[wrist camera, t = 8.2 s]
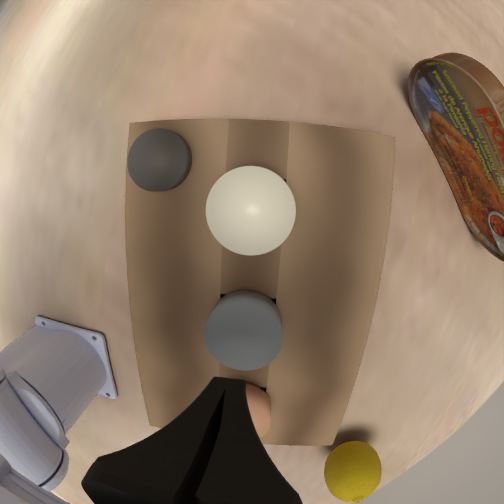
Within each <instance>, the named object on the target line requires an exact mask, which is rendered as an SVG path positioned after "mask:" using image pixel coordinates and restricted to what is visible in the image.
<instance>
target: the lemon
mask: <svg viewBox="0 0 504 504" xmlns="http://www.w3.org/2000/svg"><path fill="white" fill-rule="evenodd" d="M324 476H325V481H326V484H327V486H328V488H329V490H330V492H331V493H332V495H334V496H335V497H336V498H338V499H340V500H342V501H347V502H355V503H358V502H361V501H362V500H363V499H364V498H366V497H368V496H369V495H371V494H372V493H373V492H374V491H375V489H376V488H377V486H378V485H379V483H380V479H381V462H380V459H379V457H378V454H377V452H376V451H375V450H374V449H373V448H372V447H371V446H370V445H369V444H367V443H364V442H361V441H347V442H345V443H343V444H341V445H339V446H337V447H336V448H335V449H334V450H333V451H332V452H331V453H330V454H329V456H328V458H327V460H326V463H325V469H324Z"/></svg>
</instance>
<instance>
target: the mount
mask: <svg viewBox="0 0 504 504" xmlns="http://www.w3.org/2000/svg"><path fill="white" fill-rule="evenodd" d="M394 160H395V137H392V136H387V135H382V134H377V133H372V132H366V131H360V130H354V129H347V128H340V127H333V126H325V125H316V124H307V123H296V122H284V121H269V120H249V119H182V120H162V121H148V122H136V123H130V126H129V137H128V151H127V168H126V202H125V223H126V257H127V275H128V289H129V300H130V310H131V320H132V328H133V336H134V343H135V350H136V357H137V363H138V369H139V375H140V380H141V386H142V391H143V396H144V401H145V406H146V410H147V415H148V419H149V423H150V425H151V426H155V427H159V428H163V427H164V426H166V425H167V424H169V423H170V422H171V421H172V420H174V419H175V418H176V417H177V416H178V415H179V414H181V413H182V412H183V411H184V410H185V409H186V408H187V407H188V406H189V405H190V404H191V403H192V402H193V401H194V400H195V399H196V398H197V397H198V396H199V395H200V393H201V392H202V391H203V390H204V389H205V387H206V386H207V385H208V383H209V382H210V381H211V379H212V378H213V377H215V376H216V377H224V378H232V379H241V380H245V381H246V383H247V384H251V385H254V386H256V387H263V388H265V393H266V394H267V395H268V396H269V398H270V400H271V422H270V429H269V431H268V432H267V433H266V434H265V435H264V436H263V437H261V438H260V440H261V442H262V444H275V445H304V446H320V445H333V442H334V440H335V437H336V435H337V432H338V429H339V427H340V424H341V421H342V419H343V416H344V413H345V410H346V408H347V405H348V402H349V399H350V396H351V393H352V390H353V387H354V383H355V380H356V377H357V374H358V370H359V367H360V363H361V360H362V356H363V353H364V349H365V345H366V342H367V338H368V334H369V330H370V326H371V321H372V317H373V313H374V308H375V304H376V299H377V294H378V289H379V284H380V279H381V273H382V267H383V262H384V255H385V249H386V242H387V235H388V227H389V219H390V211H391V201H392V190H393V177H394ZM243 166H258V167H262V168H266V169H268V170H270V171H272V172H274V173H276V174H277V175H278V176H280V177H281V178H282V179H283V180H285V182H286V184H287V185H288V186H289V188H290V190H291V192H292V194H293V197H294V200H295V206H296V216H295V222H294V225H293V228H292V230H291V232H290V234H289V235H288V237H287V238H286V239H285V241H284V242H283V243H282V244H281V245H280V246H278V247H277V248H275V249H274V250H272V251H270V252H267V253H265V254H261V255H254V256H251V255H241V254H238V253H235V252H232V251H230V250H229V249H227V248H225V247H224V246H223V245H221V244H220V243H219V242H218V241H217V240H216V238H215V237H214V236H213V234H212V232H211V231H210V228H209V226H208V223H207V219H206V202H207V198H208V195H209V192H210V190H211V188H212V187H213V185H214V184H215V183H216V181H217V180H218V179H219V178H220V177H221V176H223V175H224V174H225V173H227V172H229V171H230V170H233V169H235V168H239V167H243ZM238 290H251V291H256V292H259V293H261V294H263V295H265V296H267V297H268V298H275V304H276V306H277V307H278V309H279V311H280V313H281V317H282V337H283V339H282V347H281V349H280V352H279V354H278V355H277V357H276V358H275V359H274V360H273V361H272V362H271V363H269V364H268V365H266V366H264V367H262V368H259V369H256V370H248V371H243V370H236V369H232V368H229V367H227V366H225V365H223V364H221V363H220V362H218V361H217V360H216V359H215V358H214V357H213V356H212V355H211V354H210V352H209V351H208V349H207V347H206V344H205V341H204V329H205V325H206V322H207V320H208V318H209V316H210V314H211V312H212V310H213V308H214V307H215V305H216V303H217V302H218V301H219V300H220V299H221V298H222V297H223V296H225V295H227V294H229V293H231V292H234V291H238Z"/></svg>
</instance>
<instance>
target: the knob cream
mask: <svg viewBox="0 0 504 504" xmlns="http://www.w3.org/2000/svg"><path fill="white" fill-rule="evenodd" d="M295 216H296V206H295V200H294V197H293V194H292V192H291V190H290V188H289V186H288V185H287V184H286V182H285V181H284V180H283V179H282V178H281V177H280V176H278V175H277V174H276V173H274V172H272V171H270V170H268V169H266V168H262V167H258V166H243V167H239V168H235V169H233V170H230V171H229V172H227V173H225V174H224V175H223V176H221V177H220V178H219V179H218V180H217V181H216V183H215V184H214V185H213V187H212V188H211V190H210V192H209V195H208V198H207V202H206V219H207V223H208V226H209V228H210V231H211V232H212V234H213V236H214V237H215V238H216V240H217V241H218V242H219V243H220V244H221V245H223V246H224V247H225V248H227V249H229V250H230V251H232V252H235V253H238V254H241V255H251V256H254V255H261V254H265V253H267V252H270V251H272V250H274V249H275V248H277V247H278V246H280V245H281V244H282V243H283V242H284V241H285V239H286V238H287V237H288V235H289V234H290V232H291V230H292V228H293V225H294V222H295Z"/></svg>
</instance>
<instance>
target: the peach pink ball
mask: <svg viewBox="0 0 504 504" xmlns="http://www.w3.org/2000/svg"><path fill="white" fill-rule="evenodd" d="M246 397H247V402H248V407H249V410H250V414H251V417H252V421H253V423H254V426H255V429H256V431H257V434H258V436H259V438H261V437H263V436H264V435H265V434H266V433H267V432H268V431H269V429H270V422H271V400H270V398H269V396H268V395H267V394H266V393H265V392H264V391H263V390H262V389H260V387H256V386H254V385H251V384H247V383H246Z"/></svg>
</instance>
